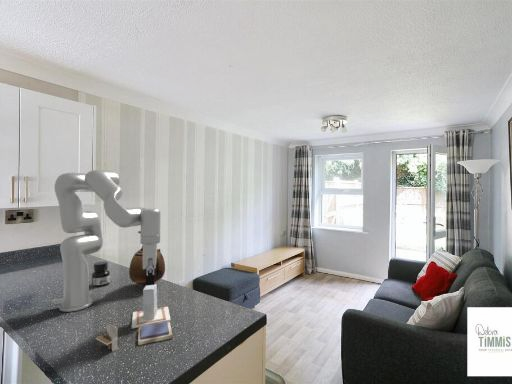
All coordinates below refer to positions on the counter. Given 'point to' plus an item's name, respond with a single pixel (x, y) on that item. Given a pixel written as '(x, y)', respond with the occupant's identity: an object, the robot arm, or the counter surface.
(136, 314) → the marked board
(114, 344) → the architectural model
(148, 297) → the skincare box
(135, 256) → the vase
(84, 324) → the counter surface
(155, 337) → the ink pad
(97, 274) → the ink bottle
